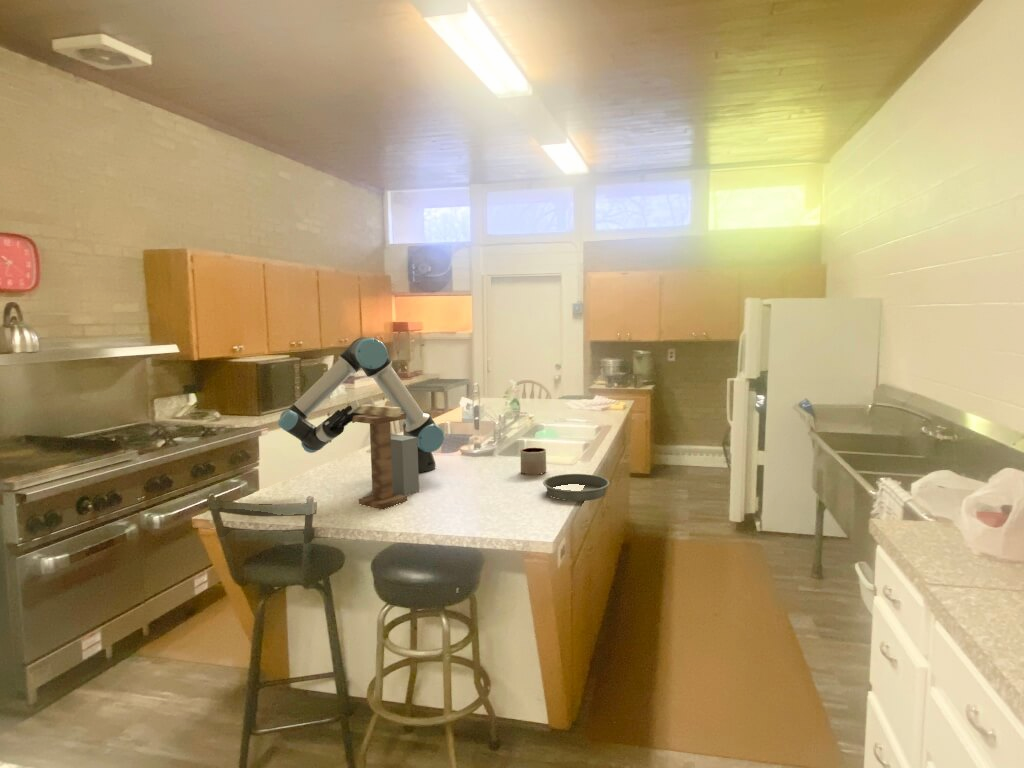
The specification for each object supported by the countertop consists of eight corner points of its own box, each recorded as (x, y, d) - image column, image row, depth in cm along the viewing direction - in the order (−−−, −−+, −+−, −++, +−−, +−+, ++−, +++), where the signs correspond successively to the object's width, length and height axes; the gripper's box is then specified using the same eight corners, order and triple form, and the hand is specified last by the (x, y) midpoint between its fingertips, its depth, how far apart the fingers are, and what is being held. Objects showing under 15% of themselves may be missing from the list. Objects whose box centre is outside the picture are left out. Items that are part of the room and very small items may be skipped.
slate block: (372, 490, 254) (370, 436, 252) (387, 485, 261) (385, 433, 258) (404, 496, 244) (402, 440, 242) (419, 491, 251) (417, 437, 248)
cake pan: (532, 489, 252) (532, 477, 251) (589, 482, 261) (589, 471, 260) (561, 506, 229) (560, 493, 229) (622, 497, 238) (622, 485, 238)
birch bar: (347, 412, 241) (347, 403, 240) (354, 411, 243) (353, 402, 243) (394, 417, 227) (394, 408, 226) (400, 415, 229) (400, 407, 229)
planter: (516, 474, 275) (516, 451, 274) (526, 468, 285) (525, 446, 284) (541, 476, 271) (541, 453, 270) (550, 470, 281) (549, 448, 280)
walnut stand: (356, 505, 234) (352, 416, 231) (385, 495, 246) (382, 410, 242) (380, 510, 227) (376, 418, 224) (409, 500, 239) (405, 413, 235)
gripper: (354, 433, 257) (389, 407, 244) (312, 442, 241) (348, 414, 228) (346, 416, 258) (381, 389, 245) (305, 423, 242) (340, 395, 230)
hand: (365, 402), depth 237 cm, fingers open, 6 cm apart
